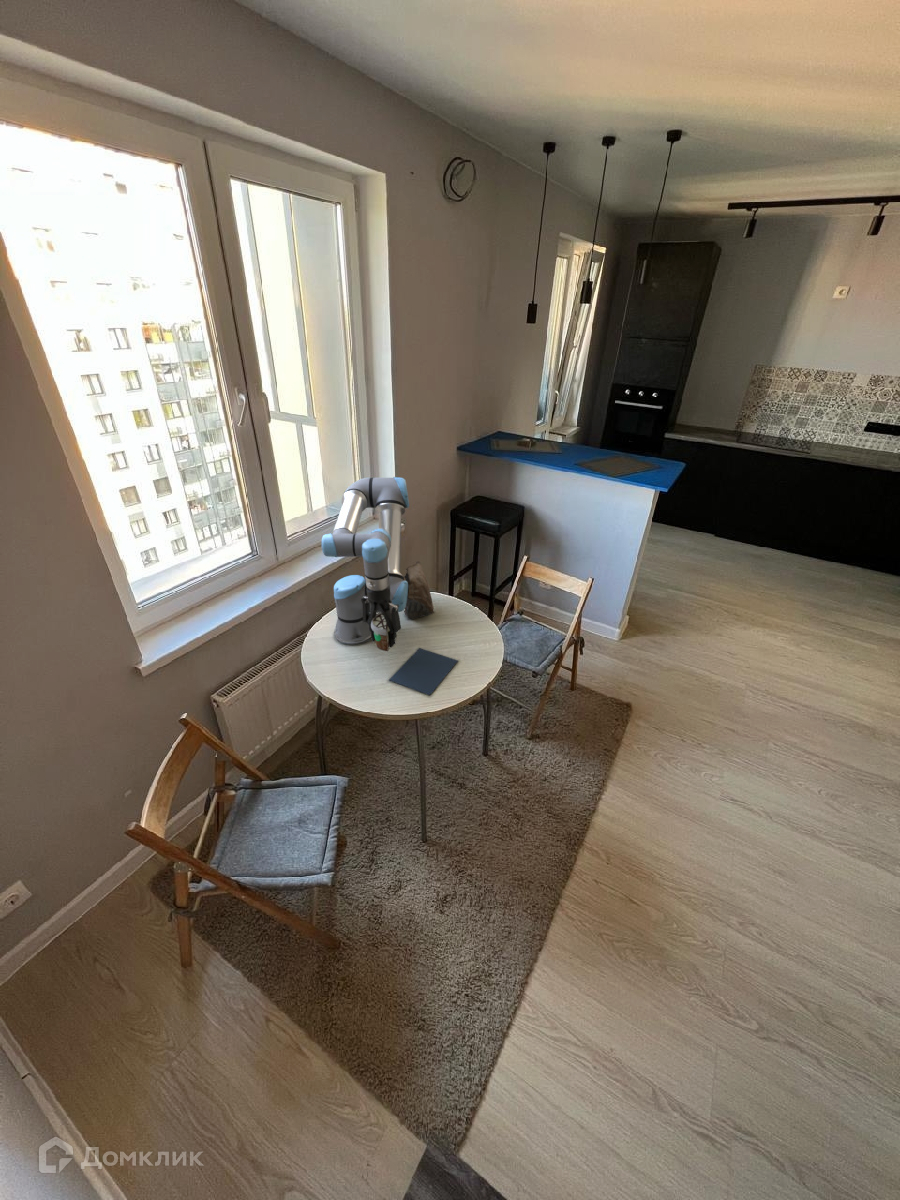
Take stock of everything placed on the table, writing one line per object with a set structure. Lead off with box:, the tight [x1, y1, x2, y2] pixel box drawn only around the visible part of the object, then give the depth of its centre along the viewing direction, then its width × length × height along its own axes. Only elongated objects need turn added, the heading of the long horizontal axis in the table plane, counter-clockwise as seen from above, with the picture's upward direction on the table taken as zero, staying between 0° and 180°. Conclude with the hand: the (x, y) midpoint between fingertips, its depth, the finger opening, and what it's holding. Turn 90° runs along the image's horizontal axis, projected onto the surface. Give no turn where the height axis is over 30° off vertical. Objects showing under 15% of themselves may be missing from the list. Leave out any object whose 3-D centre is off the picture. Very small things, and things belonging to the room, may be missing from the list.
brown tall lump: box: [403, 561, 435, 620], centre depth 197 cm, size 13×13×20 cm
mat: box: [388, 647, 459, 696], centre depth 170 cm, size 16×20×1 cm
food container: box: [371, 611, 391, 652], centre depth 169 cm, size 12×6×10 cm, turn 178°
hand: (383, 642), depth 171 cm, fingers closed on food container, 7 cm apart
